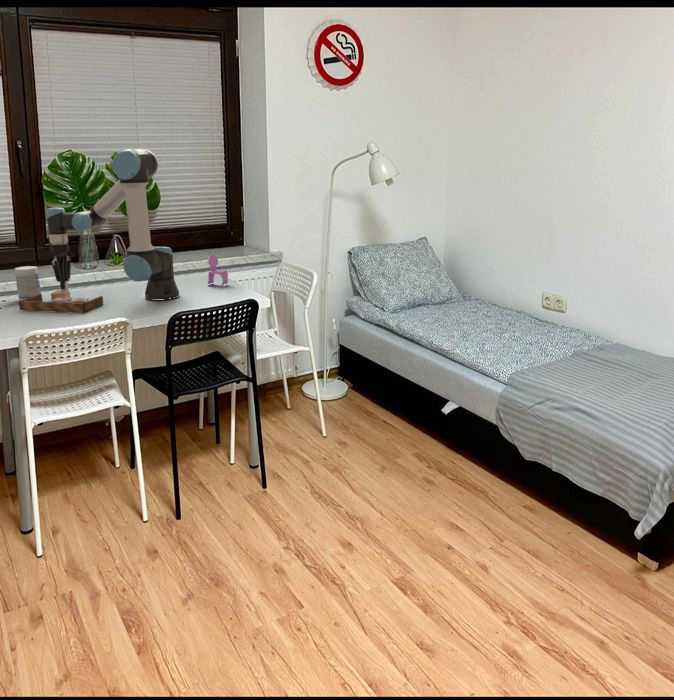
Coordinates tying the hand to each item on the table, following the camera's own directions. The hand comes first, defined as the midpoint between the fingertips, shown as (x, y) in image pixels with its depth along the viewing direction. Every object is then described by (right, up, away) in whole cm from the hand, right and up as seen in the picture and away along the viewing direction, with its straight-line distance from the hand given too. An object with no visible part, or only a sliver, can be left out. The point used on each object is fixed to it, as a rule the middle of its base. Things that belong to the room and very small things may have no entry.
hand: (65, 295), depth 313 cm
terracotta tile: (-1, -3, -3) cm, 4 cm away
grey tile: (+5, -7, -17) cm, 19 cm away
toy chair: (+65, +7, +26) cm, 70 cm away
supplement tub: (-15, -2, -2) cm, 15 cm away
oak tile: (+14, -7, -18) cm, 24 cm away
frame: (+5, -7, -17) cm, 19 cm away
